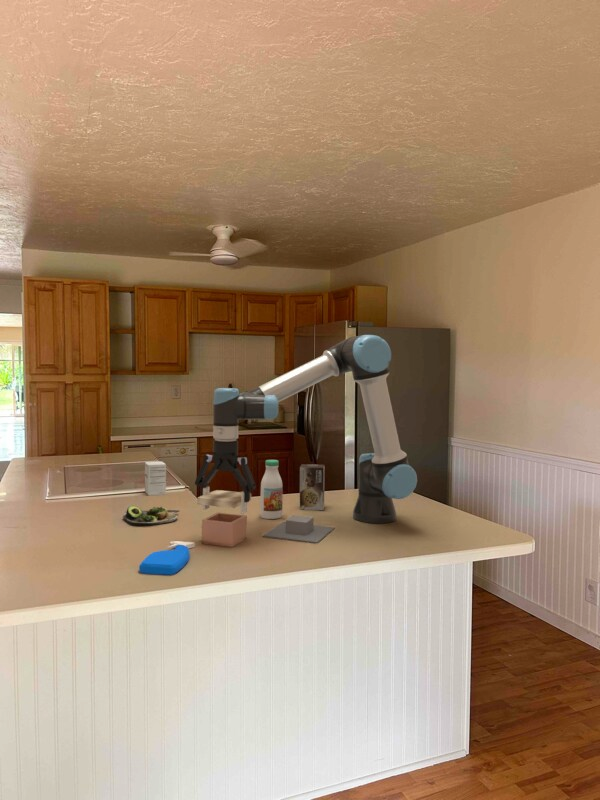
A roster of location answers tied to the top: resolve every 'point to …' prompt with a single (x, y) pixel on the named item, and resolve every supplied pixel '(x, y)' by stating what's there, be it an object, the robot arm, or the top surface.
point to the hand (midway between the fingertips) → (224, 510)
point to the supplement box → (155, 478)
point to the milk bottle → (271, 492)
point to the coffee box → (312, 487)
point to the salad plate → (149, 516)
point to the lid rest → (299, 530)
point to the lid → (221, 499)
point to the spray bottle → (167, 559)
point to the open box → (224, 529)
